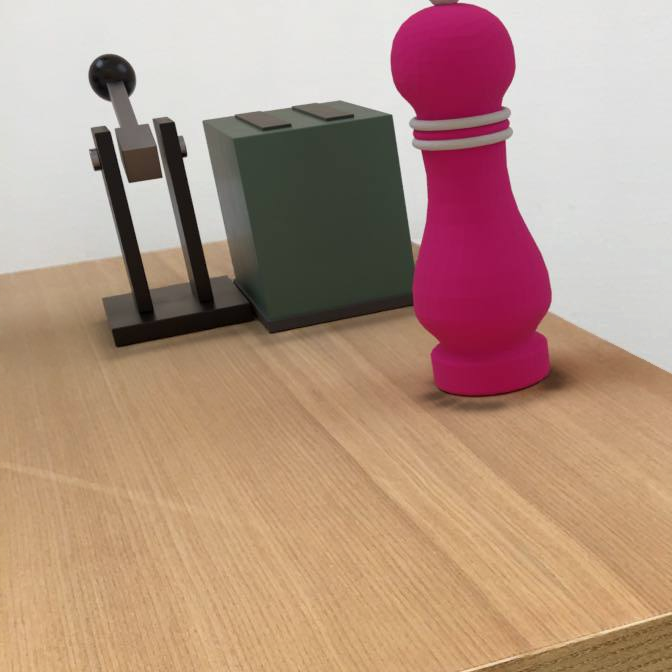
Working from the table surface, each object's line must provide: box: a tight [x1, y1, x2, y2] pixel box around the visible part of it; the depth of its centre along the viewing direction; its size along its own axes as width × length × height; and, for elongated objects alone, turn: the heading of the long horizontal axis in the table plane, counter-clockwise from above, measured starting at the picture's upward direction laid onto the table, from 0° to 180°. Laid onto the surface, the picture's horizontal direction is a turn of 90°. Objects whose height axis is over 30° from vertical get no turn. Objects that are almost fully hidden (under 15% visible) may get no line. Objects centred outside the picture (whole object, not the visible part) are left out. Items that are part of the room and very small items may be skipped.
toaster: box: [201, 100, 416, 334], centre depth 83 cm, size 14×10×12 cm
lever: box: [87, 53, 164, 184], centre depth 83 cm, size 13×3×3 cm, turn 22°
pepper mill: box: [389, 0, 553, 396], centre depth 61 cm, size 7×7×20 cm
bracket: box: [88, 116, 254, 348], centre depth 82 cm, size 10×9×13 cm
